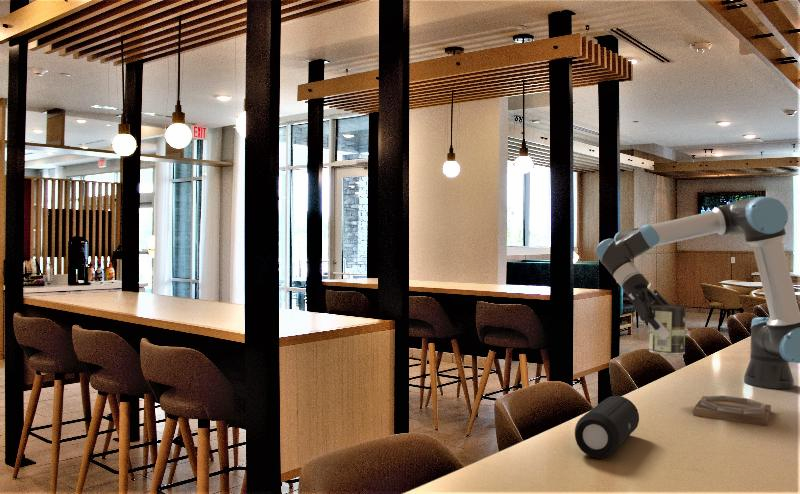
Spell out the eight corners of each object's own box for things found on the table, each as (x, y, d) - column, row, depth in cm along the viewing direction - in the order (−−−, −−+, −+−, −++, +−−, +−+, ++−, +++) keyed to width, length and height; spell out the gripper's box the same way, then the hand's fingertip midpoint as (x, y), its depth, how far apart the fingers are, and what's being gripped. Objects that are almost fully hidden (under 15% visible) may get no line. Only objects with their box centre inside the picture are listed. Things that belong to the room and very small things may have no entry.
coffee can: (681, 350, 213) (682, 305, 213) (688, 356, 203) (689, 308, 203) (646, 348, 215) (647, 303, 215) (651, 354, 205) (652, 307, 205)
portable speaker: (615, 465, 148) (617, 419, 148) (570, 456, 153) (571, 412, 153) (640, 436, 170) (641, 396, 170) (600, 430, 175) (601, 391, 175)
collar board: (702, 402, 207) (703, 392, 207) (770, 411, 198) (770, 400, 198) (693, 415, 192) (693, 403, 192) (766, 425, 183) (766, 413, 183)
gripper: (643, 286, 228) (687, 340, 216) (602, 289, 214) (647, 346, 202) (658, 271, 223) (704, 325, 211) (617, 273, 209) (664, 330, 197)
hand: (676, 335), depth 207 cm, fingers closed on coffee can, 10 cm apart
